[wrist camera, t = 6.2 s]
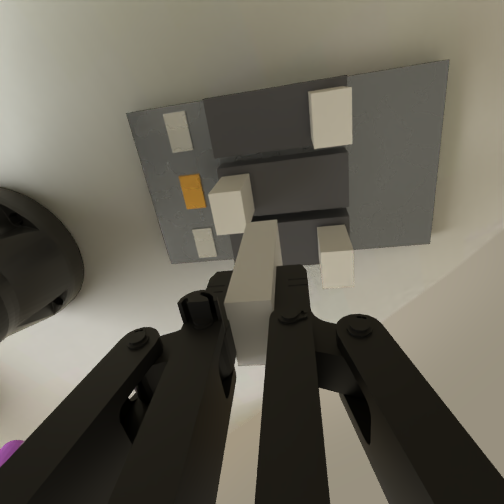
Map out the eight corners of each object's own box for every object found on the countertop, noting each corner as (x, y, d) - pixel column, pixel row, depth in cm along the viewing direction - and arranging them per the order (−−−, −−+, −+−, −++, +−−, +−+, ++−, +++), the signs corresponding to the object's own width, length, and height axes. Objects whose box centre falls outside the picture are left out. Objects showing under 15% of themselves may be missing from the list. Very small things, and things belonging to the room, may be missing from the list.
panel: (176, 256, 34) (170, 264, 32) (134, 111, 27) (125, 113, 26) (423, 236, 30) (430, 244, 28) (440, 60, 23) (450, 59, 22)
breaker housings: (239, 259, 31) (226, 300, 25) (209, 98, 25) (182, 103, 19) (347, 251, 29) (359, 293, 24) (343, 75, 23) (359, 73, 17)
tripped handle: (228, 212, 27) (216, 235, 23) (221, 176, 25) (208, 194, 21) (254, 209, 26) (247, 232, 22) (249, 173, 25) (240, 190, 21)
